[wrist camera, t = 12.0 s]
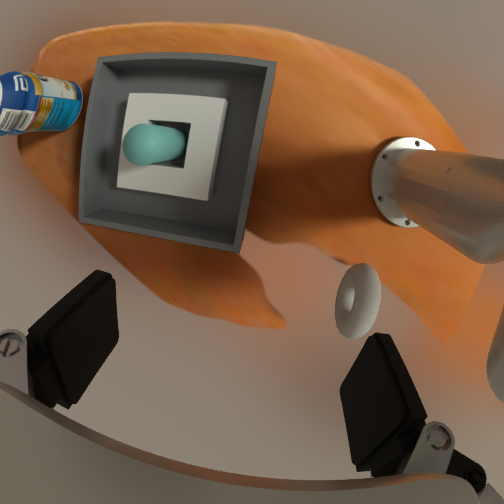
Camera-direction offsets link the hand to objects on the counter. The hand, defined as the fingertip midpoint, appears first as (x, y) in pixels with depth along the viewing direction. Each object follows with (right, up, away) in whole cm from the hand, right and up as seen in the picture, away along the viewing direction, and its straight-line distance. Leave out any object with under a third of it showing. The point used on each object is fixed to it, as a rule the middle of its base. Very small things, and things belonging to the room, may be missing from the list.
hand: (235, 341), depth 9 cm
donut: (+14, -1, +30) cm, 33 cm away
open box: (-9, +17, +24) cm, 31 cm away
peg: (-9, +17, +23) cm, 30 cm away
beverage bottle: (-28, +25, +22) cm, 44 cm away
